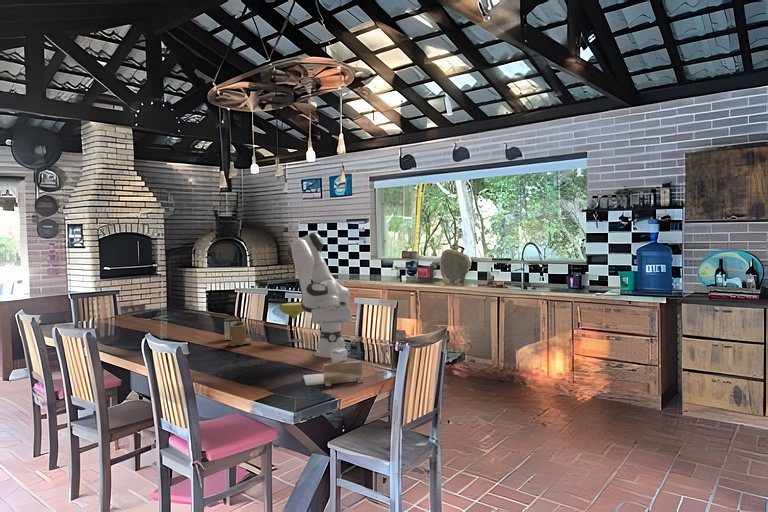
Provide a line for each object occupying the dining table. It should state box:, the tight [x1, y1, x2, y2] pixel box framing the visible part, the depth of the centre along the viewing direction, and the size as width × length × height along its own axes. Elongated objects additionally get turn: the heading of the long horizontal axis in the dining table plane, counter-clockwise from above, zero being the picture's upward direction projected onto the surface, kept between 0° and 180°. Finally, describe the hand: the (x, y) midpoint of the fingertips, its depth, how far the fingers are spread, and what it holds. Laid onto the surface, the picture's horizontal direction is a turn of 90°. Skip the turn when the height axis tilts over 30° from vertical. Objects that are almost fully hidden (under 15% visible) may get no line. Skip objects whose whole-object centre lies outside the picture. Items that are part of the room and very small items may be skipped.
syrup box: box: [330, 348, 348, 364], centre depth 250 cm, size 6×6×14 cm
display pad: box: [302, 373, 325, 386], centre depth 250 cm, size 14×10×1 cm
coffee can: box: [223, 317, 241, 340], centre depth 351 cm, size 10×10×14 cm
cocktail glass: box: [278, 301, 306, 343], centre depth 339 cm, size 18×18×25 cm
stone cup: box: [227, 321, 252, 347], centre depth 332 cm, size 15×12×15 cm
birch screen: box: [322, 360, 364, 387], centre depth 244 cm, size 5×18×9 cm, turn 103°
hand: (332, 329), depth 262 cm, fingers open, 8 cm apart
